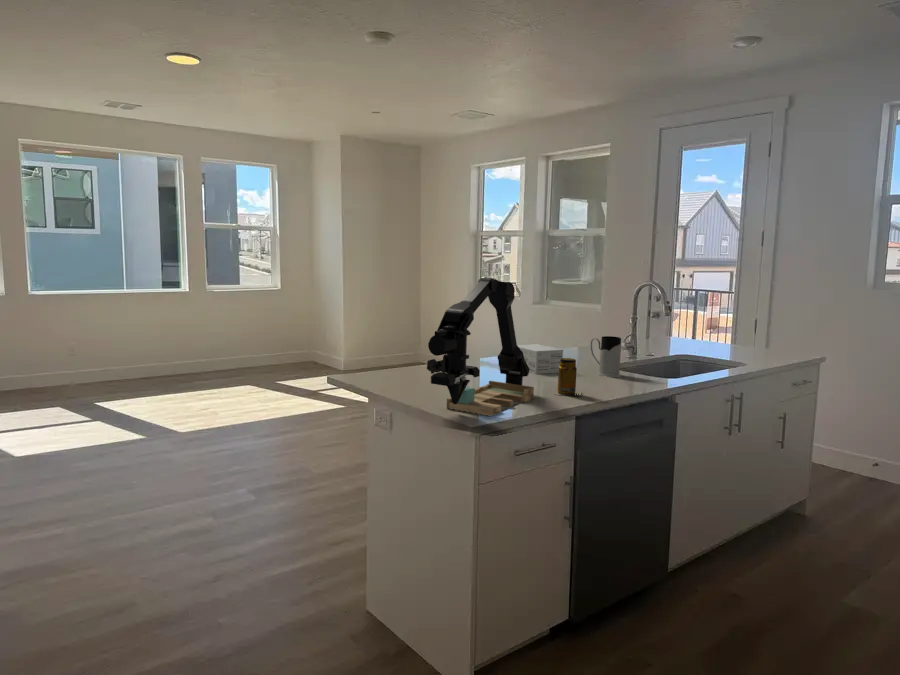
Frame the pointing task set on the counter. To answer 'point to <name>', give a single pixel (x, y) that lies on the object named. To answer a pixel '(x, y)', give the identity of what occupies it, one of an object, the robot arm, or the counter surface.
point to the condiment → (567, 377)
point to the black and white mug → (609, 356)
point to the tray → (495, 398)
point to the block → (467, 396)
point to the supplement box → (542, 358)
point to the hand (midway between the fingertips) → (455, 403)
